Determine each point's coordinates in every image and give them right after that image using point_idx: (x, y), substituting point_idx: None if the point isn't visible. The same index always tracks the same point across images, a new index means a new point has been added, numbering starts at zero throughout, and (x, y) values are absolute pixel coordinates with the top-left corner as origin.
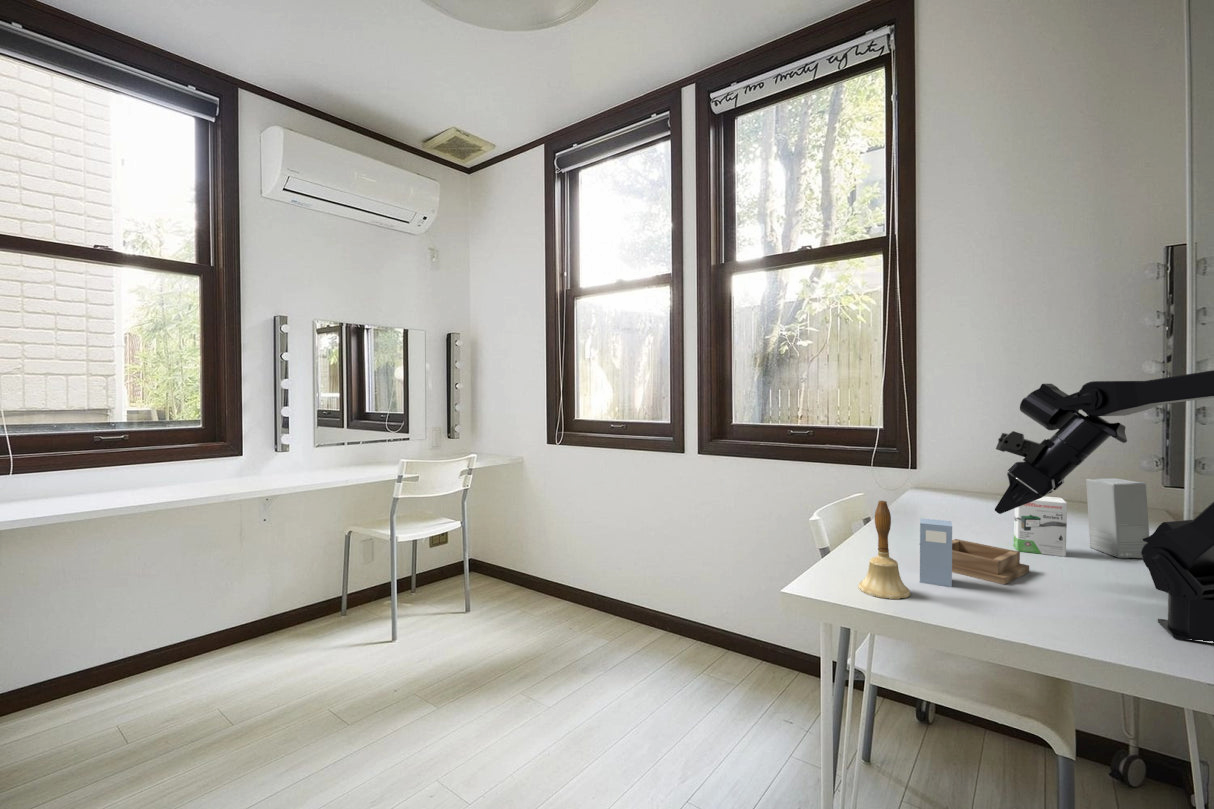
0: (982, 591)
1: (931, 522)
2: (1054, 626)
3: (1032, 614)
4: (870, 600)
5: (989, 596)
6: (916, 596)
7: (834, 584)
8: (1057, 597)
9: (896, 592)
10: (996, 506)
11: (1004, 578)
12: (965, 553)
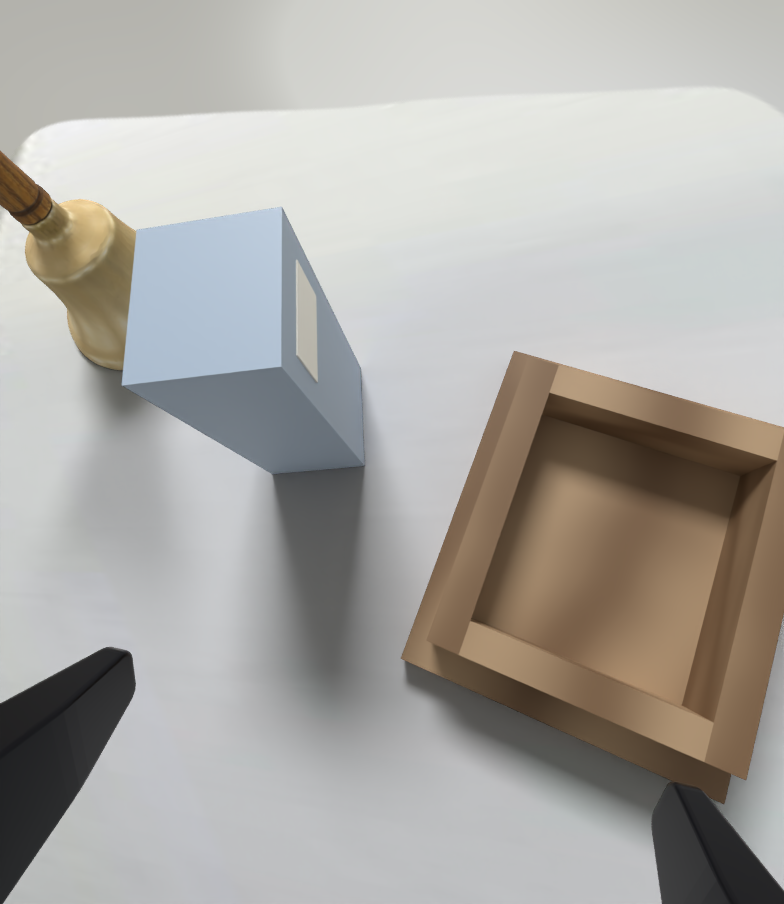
0: (274, 572)
1: (182, 275)
2: None
3: None
4: (45, 290)
5: (227, 593)
6: None
7: (137, 186)
8: (340, 851)
9: (76, 333)
10: (67, 669)
11: (403, 658)
12: (500, 497)
